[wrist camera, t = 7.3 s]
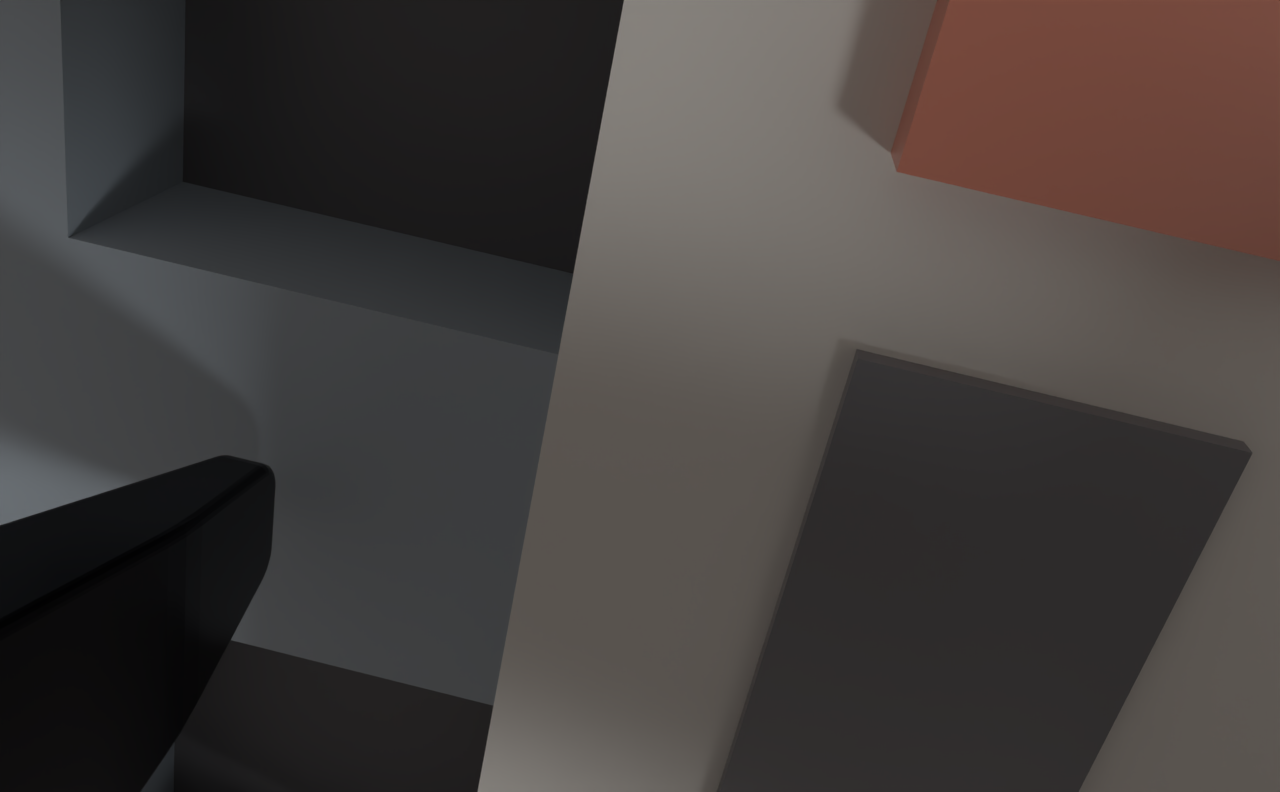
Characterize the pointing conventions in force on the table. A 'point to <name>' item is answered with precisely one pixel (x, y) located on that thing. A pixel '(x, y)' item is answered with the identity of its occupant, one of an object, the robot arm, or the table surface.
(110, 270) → the keyhole board
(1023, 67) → the power strip
